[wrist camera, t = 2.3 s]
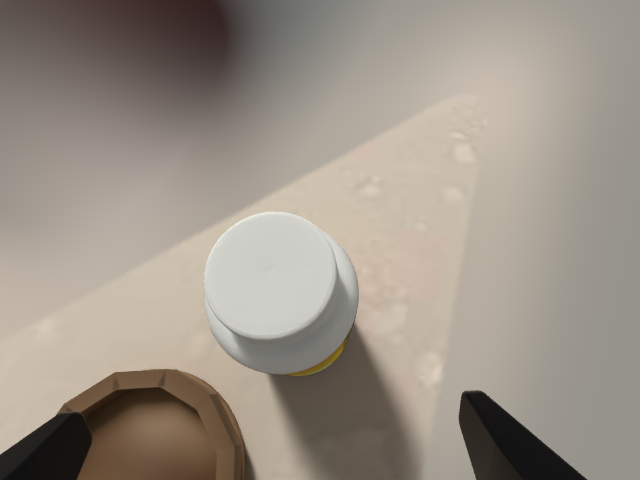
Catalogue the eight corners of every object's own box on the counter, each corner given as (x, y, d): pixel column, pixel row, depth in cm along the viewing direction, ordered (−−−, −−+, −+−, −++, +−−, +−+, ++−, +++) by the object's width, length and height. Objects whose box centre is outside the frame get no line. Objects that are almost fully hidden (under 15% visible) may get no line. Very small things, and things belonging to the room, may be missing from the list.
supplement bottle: (357, 368, 18) (382, 359, 9) (255, 382, 18) (169, 388, 9) (342, 270, 20) (349, 177, 11) (250, 282, 20) (177, 199, 11)
